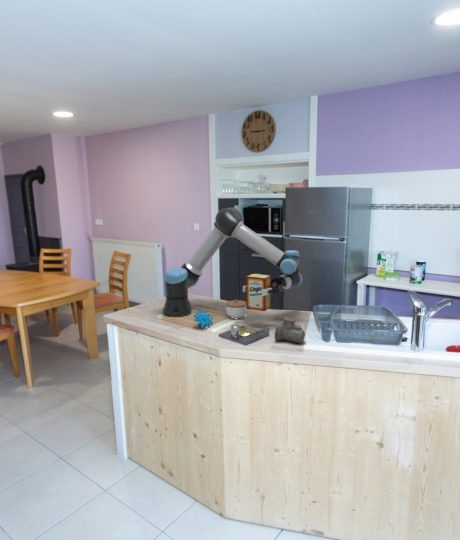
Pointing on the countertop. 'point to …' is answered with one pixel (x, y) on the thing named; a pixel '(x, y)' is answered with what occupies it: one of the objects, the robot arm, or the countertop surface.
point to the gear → (203, 319)
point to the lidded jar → (236, 308)
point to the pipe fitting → (289, 331)
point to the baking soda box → (257, 292)
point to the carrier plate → (245, 334)
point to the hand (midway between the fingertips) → (253, 291)
